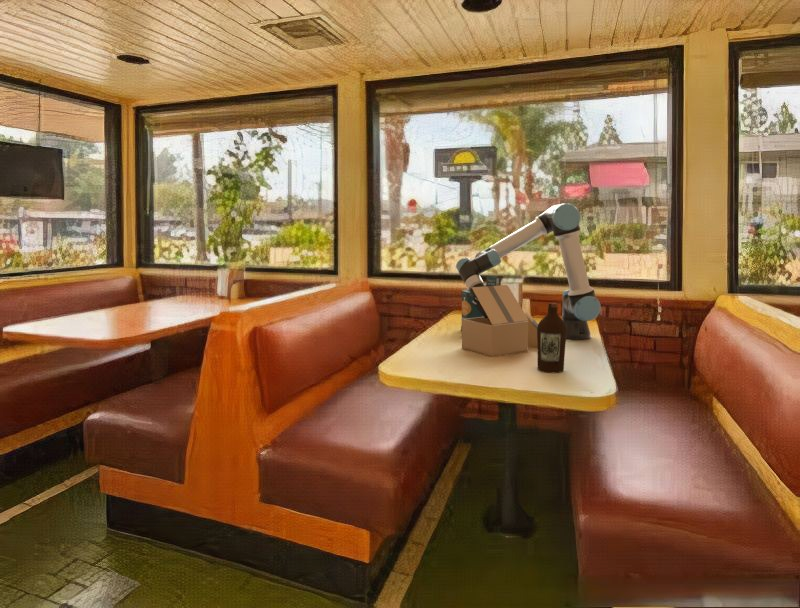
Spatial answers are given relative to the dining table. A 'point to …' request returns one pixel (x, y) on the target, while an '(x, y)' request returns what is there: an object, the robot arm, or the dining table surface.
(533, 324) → the sandwich container
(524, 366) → the dining table surface
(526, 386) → the dining table surface
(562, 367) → the olive oil
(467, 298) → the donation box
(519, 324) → the carton
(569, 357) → the dining table surface
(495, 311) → the lid flap
